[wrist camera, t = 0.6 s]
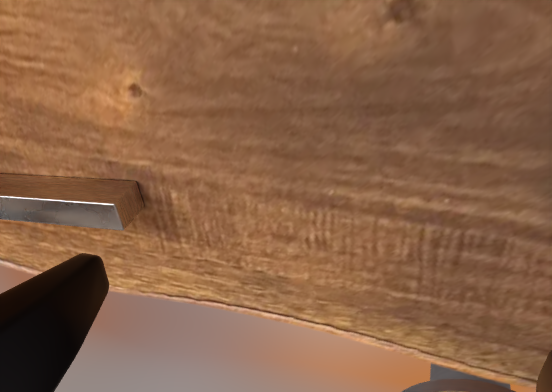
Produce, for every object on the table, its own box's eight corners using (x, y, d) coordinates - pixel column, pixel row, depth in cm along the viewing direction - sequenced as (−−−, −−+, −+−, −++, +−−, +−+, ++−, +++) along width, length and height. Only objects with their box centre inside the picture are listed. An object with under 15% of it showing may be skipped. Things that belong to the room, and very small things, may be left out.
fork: (132, 167, 28) (108, 190, 26) (149, 218, 30) (128, 243, 28) (-88, 157, 33) (-120, 176, 32) (-61, 201, 35) (-90, 221, 33)
